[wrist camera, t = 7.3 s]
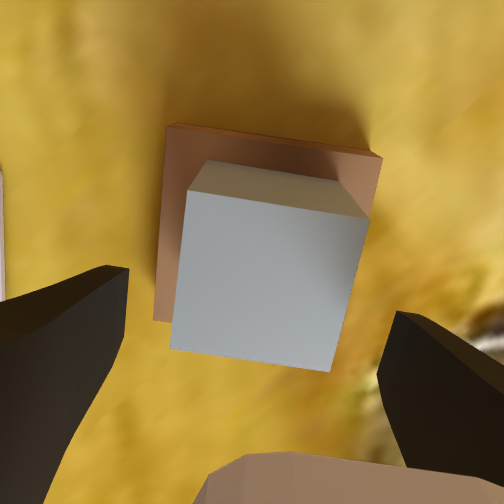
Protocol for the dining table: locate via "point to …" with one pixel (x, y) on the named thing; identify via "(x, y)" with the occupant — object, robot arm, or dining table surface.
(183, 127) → the walnut block
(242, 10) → the dining table surface
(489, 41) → the dining table surface
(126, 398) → the dining table surface
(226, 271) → the slate cube
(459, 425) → the robot arm
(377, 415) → the dining table surface
